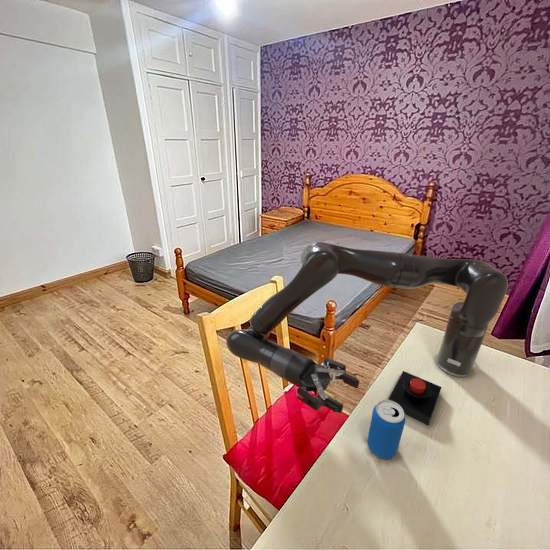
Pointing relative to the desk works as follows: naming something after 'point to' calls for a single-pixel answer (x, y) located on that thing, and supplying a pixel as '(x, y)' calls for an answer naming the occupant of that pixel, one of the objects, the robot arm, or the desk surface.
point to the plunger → (417, 386)
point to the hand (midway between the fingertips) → (350, 396)
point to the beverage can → (386, 429)
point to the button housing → (415, 398)
